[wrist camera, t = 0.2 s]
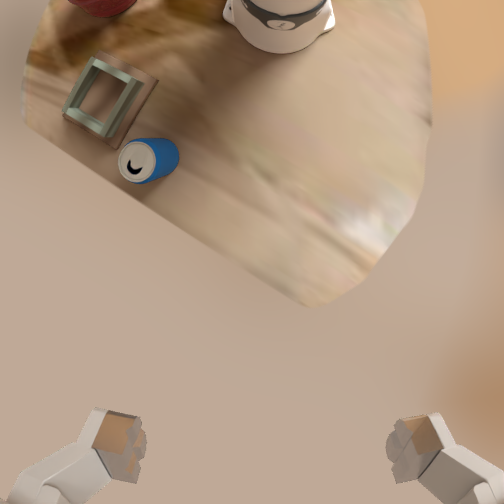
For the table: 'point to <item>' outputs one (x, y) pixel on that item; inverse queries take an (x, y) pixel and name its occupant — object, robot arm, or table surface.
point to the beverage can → (147, 159)
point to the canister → (103, 6)
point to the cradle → (108, 98)
